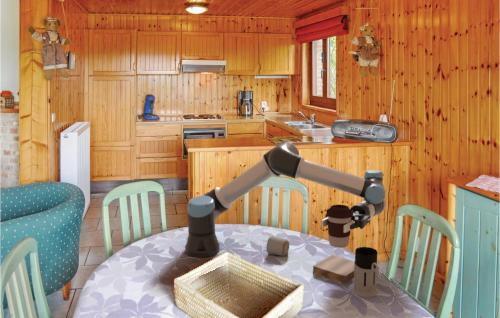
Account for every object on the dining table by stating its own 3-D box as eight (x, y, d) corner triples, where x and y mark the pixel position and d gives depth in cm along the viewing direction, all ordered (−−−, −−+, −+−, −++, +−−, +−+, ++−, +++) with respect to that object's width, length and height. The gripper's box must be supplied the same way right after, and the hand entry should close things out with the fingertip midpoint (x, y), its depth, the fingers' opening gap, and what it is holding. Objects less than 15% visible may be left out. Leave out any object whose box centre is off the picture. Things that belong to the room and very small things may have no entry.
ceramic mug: (283, 259, 184) (284, 241, 183) (265, 255, 187) (266, 238, 186) (292, 250, 193) (292, 233, 192) (275, 247, 197) (275, 231, 195)
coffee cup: (335, 251, 162) (336, 212, 159) (320, 242, 171) (321, 205, 168) (357, 246, 166) (358, 208, 163) (342, 238, 175) (342, 201, 172)
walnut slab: (313, 273, 170) (313, 266, 170) (331, 261, 180) (332, 254, 180) (345, 283, 161) (345, 276, 160) (363, 271, 171) (363, 263, 171)
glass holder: (371, 284, 161) (373, 245, 158) (389, 303, 147) (391, 261, 144) (348, 286, 159) (349, 247, 157) (364, 305, 145) (365, 263, 143)
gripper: (386, 226, 174) (359, 242, 157) (338, 215, 188) (308, 229, 171) (387, 208, 173) (359, 222, 156) (338, 198, 187) (309, 211, 170)
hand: (333, 226), depth 164 cm, fingers closed on coffee cup, 9 cm apart
